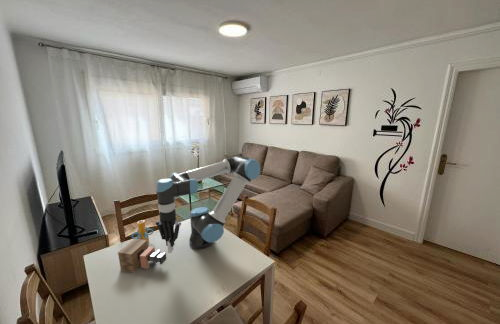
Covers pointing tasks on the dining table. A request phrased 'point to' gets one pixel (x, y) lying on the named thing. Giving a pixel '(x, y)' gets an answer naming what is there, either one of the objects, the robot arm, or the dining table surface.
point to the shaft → (155, 257)
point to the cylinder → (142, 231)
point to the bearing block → (132, 255)
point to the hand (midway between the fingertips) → (170, 251)
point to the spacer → (144, 256)
